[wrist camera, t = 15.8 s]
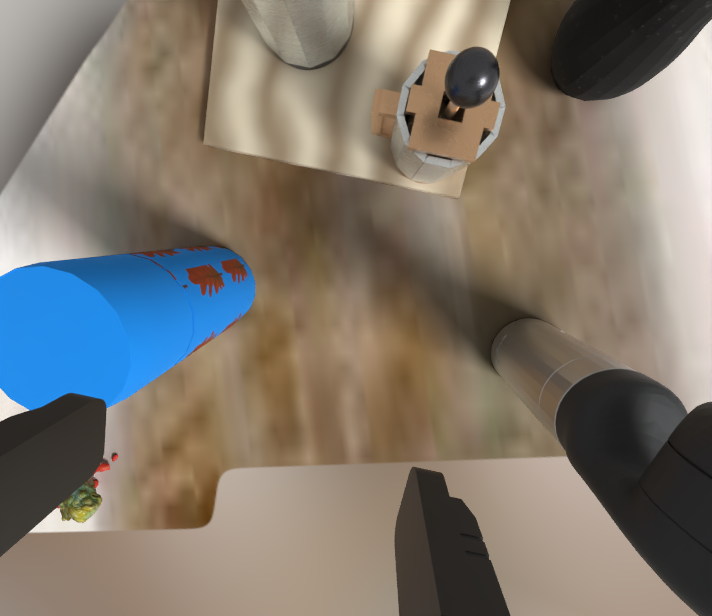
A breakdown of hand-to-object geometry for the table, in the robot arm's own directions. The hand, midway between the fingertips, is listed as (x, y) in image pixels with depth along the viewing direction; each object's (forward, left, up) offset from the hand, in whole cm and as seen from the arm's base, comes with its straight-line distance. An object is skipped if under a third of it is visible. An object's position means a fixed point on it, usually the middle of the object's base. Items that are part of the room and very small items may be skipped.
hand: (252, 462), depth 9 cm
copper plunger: (-6, -17, -32) cm, 36 cm away
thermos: (+17, +5, -38) cm, 42 cm away
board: (+5, -23, -38) cm, 45 cm away
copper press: (-5, -17, -37) cm, 41 cm away
